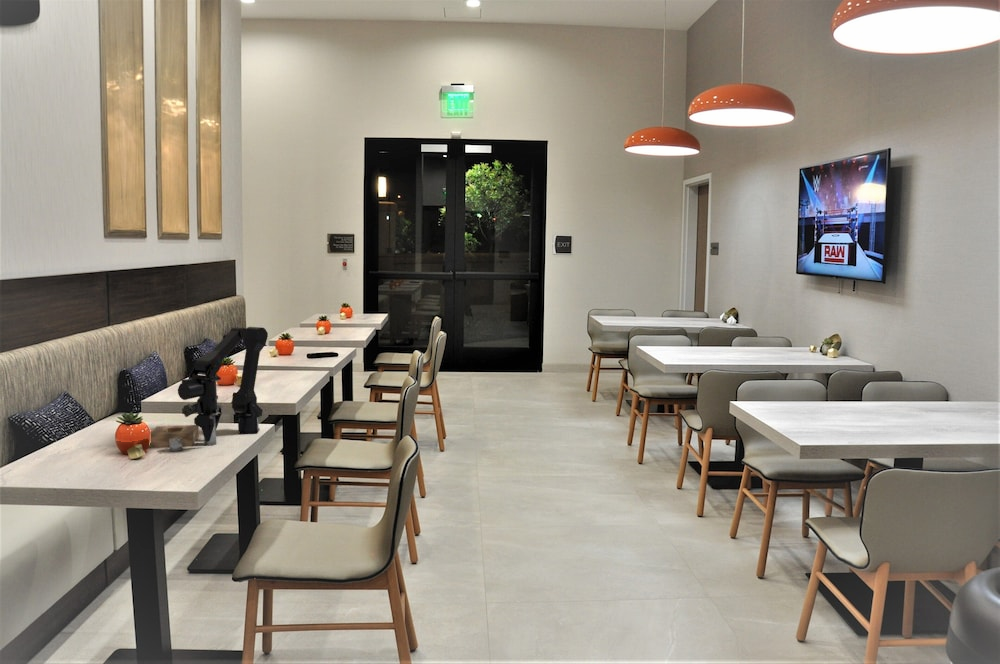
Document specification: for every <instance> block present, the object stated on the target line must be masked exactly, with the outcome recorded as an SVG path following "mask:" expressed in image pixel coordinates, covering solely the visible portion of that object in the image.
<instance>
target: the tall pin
mask: <svg viewBox="0 0 1000 664" xmlns="http://www.w3.org/2000/svg"><path fill="white" fill-rule="evenodd" d="M217 442H218V441H217V429H216V423H215V426H214V429H213V432H212V435H211V438H210V441H209V442H206V440H205V437H204V436H203V443H204V446H207V447H209V446H211V447H212V446H215V445H217Z"/></svg>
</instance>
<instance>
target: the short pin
mask: <svg viewBox="0 0 1000 664" xmlns="http://www.w3.org/2000/svg"><path fill="white" fill-rule="evenodd" d="M168 448H169V452H171V453H178V452H182V451H183V446H182V438H179V437H177V438H171V439H169V447H168Z"/></svg>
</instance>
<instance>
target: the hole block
mask: <svg viewBox="0 0 1000 664" xmlns="http://www.w3.org/2000/svg"><path fill="white" fill-rule="evenodd" d="M199 429H200V427H199V426H197V425H196V424H184V425H162V426H160V425H159V426H158V425H157V426H156V427H155V428H153V430H152V431H151V432H150V433H151V443H150V446H149V445H148V448H149V449H150V448H151V449H152V448H169V439H171V438H177V437H179V438H182V447H192V446H193V445H194V443H195V442H196V441H197V440H198V439H199V438H200V433H199V432H200V430H199Z"/></svg>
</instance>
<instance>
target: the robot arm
mask: <svg viewBox="0 0 1000 664" xmlns="http://www.w3.org/2000/svg"><path fill="white" fill-rule="evenodd" d="M268 337H269V336H268V331H267V330H266V328H264V327H261V326H258V327H257V326H248V327H246V328H245V327H244V326H243V327H241V326H234V327H232V328H231V329H230V331H228V333H227V334H226V335H225V336H224V337H223V338H222V340H221V341H220V342H218V344H217V345H216V346H215V347H214V348H213V349H212V350H211V351H209V352H207V353H205V354H203V355H202V356H199V358H197V359H196V360H195V362H194V364H193V367H192V370H191V371H190V373H189V376H188V378H187V379H186V378H184V379H182V380H181V383H180V384H179V385H178V388H177V395H178V397H179V398H181V400H183V401H187V400H191V399H196V398H198V399H197V400H196V401H195V402H192V403H187V404H185V405H183V407H181V414H182V415H183V416H184V417H185V418H187V417H189V416H191V415H193V414H196V413H197V415H196V416H195V417H194V418H193V421H194V423H193V425H197V426H199V428H201V430H202V435H203V438H204V437H205V440H206V442H209V441H210V438H211V435H212V432H213V429H214V426H215V423H216V430H217V428H218V425H219V423H220V421H221V417H222V416H223V413H224V407H223V406H224V405H223V406H222V404H220V403H218V399H219V395H218V393H217V381H220V380H222V377H221V376H220V375H218V372H219V371H220V369H221V368H222V366H223V361H224V360H225V358H226V357H227V356H228V355H229V354H230V353H231V352H232V351H233V350H234V348H236V347H237V345H238V344H239V343H240V342H241V341H242V342H243V346H244V348H245V354H244V359H243V360H244V361H243V365H242V366H243V367H242V368H243V369H242V371H241V379H240V386H239V389H238V390H237V392H235V391H234V392H233V393H232V398H231V399H232V400H231V402H230V404H231V408H232V410H233V413H234V415H235V417H238V418H239V419H238V421H237V428H238V429H237V430H238V432H239V433H238V434H239V435H257V434H258V433H259V431H260V427H259V426H260V425H259V418H260V417H262V415H263V410H264V409H262V408H261V407H260V406H259V404H257V403H258V400H257V399H258V397H257V395H256V392H255V384H256V381H257V380H256V379H257V373H258V366H259V360H260V353H261V352H262V351H263V349H264V347H265V346H266V344H267V340H268Z"/></svg>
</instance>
